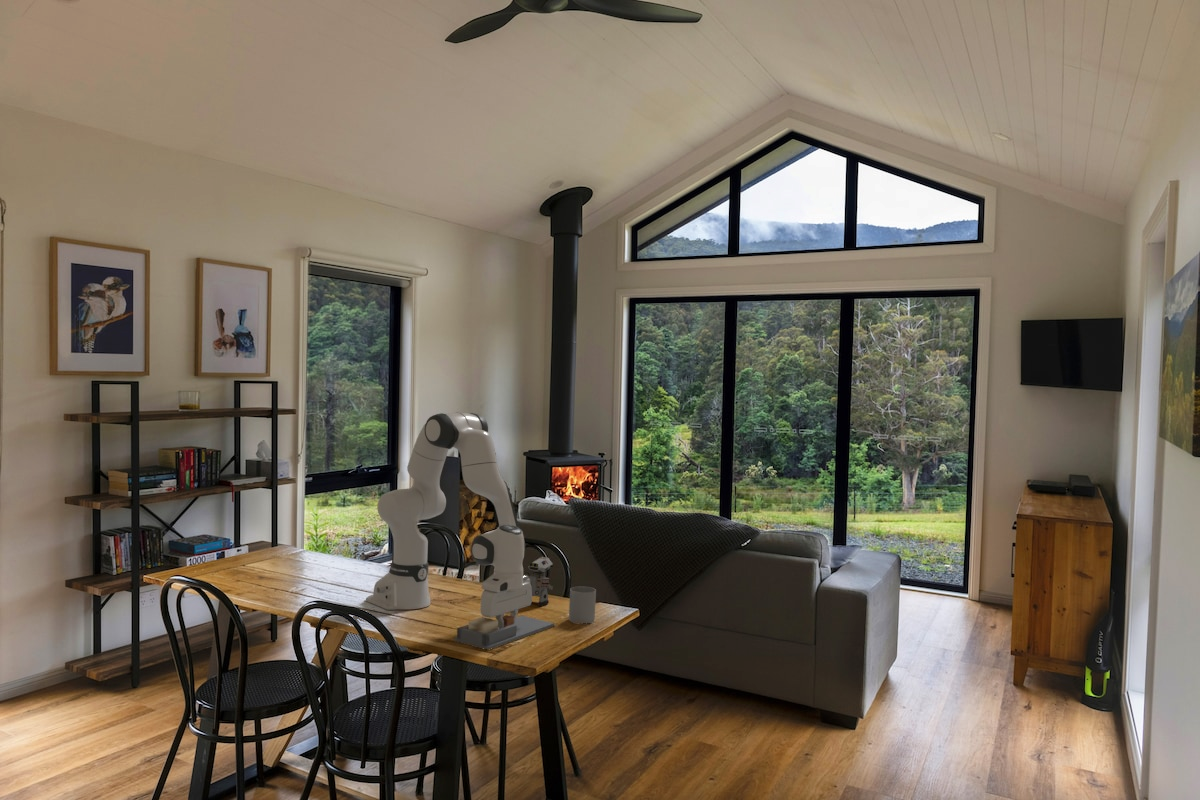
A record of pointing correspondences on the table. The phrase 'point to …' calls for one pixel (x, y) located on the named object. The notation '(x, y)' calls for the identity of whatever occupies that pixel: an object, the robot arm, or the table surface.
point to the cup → (582, 604)
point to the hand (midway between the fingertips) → (506, 625)
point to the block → (488, 624)
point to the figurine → (540, 579)
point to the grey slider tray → (502, 633)
